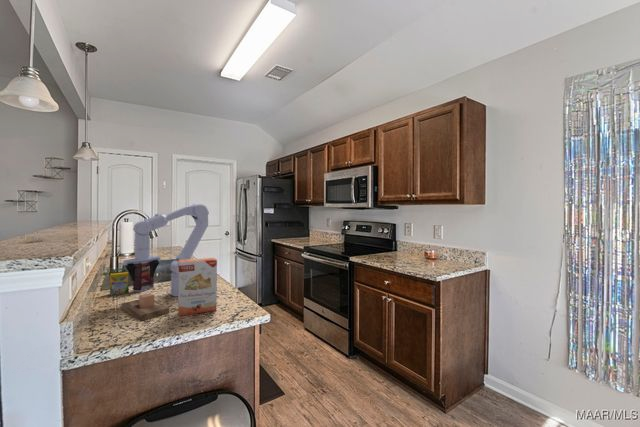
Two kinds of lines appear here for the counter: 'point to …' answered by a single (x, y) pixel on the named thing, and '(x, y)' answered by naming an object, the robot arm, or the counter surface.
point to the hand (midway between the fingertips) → (142, 278)
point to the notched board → (144, 310)
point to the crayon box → (119, 281)
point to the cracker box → (197, 286)
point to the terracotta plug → (146, 300)
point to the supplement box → (142, 277)
